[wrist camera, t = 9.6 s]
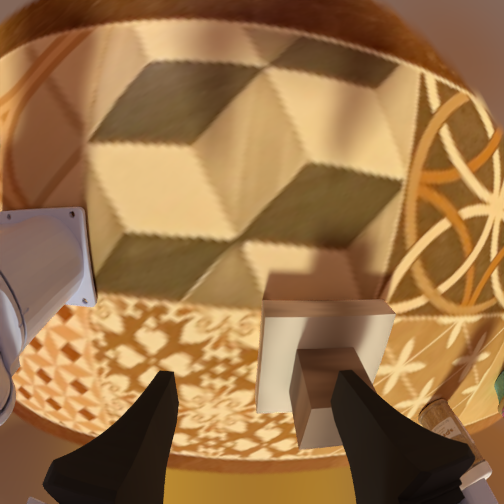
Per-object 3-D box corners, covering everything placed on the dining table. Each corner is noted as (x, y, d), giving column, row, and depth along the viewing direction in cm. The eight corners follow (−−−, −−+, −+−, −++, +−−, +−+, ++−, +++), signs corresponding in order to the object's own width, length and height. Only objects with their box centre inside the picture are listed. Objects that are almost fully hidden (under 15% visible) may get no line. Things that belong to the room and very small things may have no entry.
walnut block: (288, 391, 22) (299, 449, 17) (296, 348, 21) (311, 408, 15) (340, 388, 23) (360, 442, 17) (353, 347, 21) (380, 401, 16)
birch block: (254, 390, 26) (256, 413, 23) (261, 296, 23) (265, 317, 20) (354, 384, 27) (364, 404, 24) (380, 296, 23) (395, 313, 21)
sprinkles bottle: (425, 401, 28) (472, 482, 15) (451, 394, 28) (500, 466, 16) (412, 425, 30) (451, 502, 17) (438, 417, 30) (479, 487, 17)
